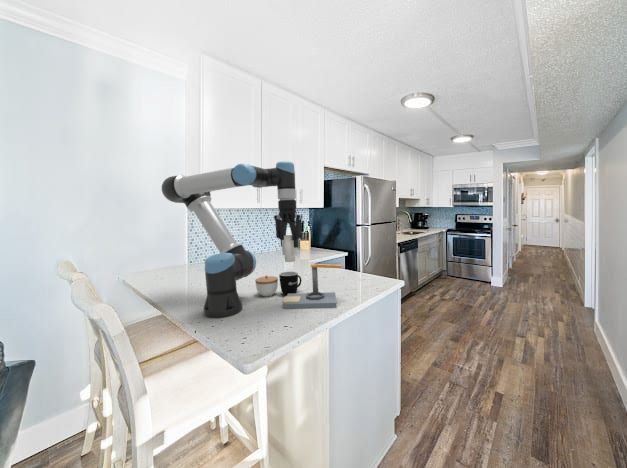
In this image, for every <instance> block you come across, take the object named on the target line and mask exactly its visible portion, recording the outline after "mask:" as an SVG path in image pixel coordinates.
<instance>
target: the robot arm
mask: <svg viewBox="0 0 627 468" xmlns="http://www.w3.org/2000/svg"><path fill="white" fill-rule="evenodd" d="M247 186H251V187H253V188H259V189H262V188H268V187H277V199H278V201H277V203H278V204H277V205H278V211H279V212H278V214H276V215H274V216H273V218H274V221H275V234H276V235H275V236H276V237H275V238H276V239H280V240H279V241H280V246H281V250H282V251H281V252H282V256H285V252H284V235H287V230H288V229H287V228H288V225H289V228H290V229H289V230H290V233H291V235H292V238H293V239H292V240H291V246H292V256H295V257H296V256H298V248H299V239H302V238H303V234H302V233H303V230H302V228H303V227H302V225H303V224H302V221H303V214H299V213H298V212H297V200H296V198H297V194H296V192H297V191H296V171H295V163H293V162H291V161H286V160H284V161H278V162H276V164H275V167H273V168H262V167H258V166H254V165H251V164H249V163H237V165H235V166H234V167H230V168H224V169H219V170H214V171H207V172H203V173H198V174H192V175H187V176H186V175H184V174H179V175H174V176H169V177H166V178H165V179H164V180H163V182H162V185H161V192H162V195H163V196H164V198H165V199H166V200H168V201H170V202H172V203H175V204H177V203H178V204H184V205H185V207H186V208H187V210H189V212H190V211H191V212H193V213H194V214H195V216H196V218H197V219H198V221H199V223H201V225H202V226H203V228H204V230H205V232H206V234H208V236H209V238H210V240H211V241H212V242H213V245H214V246H215V247H216V249H217V251H218V252H219V253H217V254H212V255H211V256H209V257H207V258H206V259H205V260H204V274H205V284H206V299H205V301H204V306H203V315H204V316H205V317H207V318H211V319H212V318H214V319H216V318H218V319H219V318H226V317H230V316H234V315H236V314H238V313H240V312H241V311H242V310H243V304H242V300H241V298H240V295H239V293H238V291H237V290H238V289H237V281H239V280H241V279H243V278H247V277H248V276H249V275H251V274H253V273H254V271H255V270H256V267H257V259H256V256H255V254H254V253H253V252H252V251H251V250H246V249H245V248H244V246H243V244H240V243H238V242H237V241H236V240H235V238H234V237H233V235H232V234H231V232H230V231H229V229H228V228H227V225H226V224H225V223H224V221H223V220H222V218H221V217H220V215H219V213H218V212H217V210H216V209H215V207H214V206H213V204H212V203H211V201H212V197H211V195H212V193H211V192H215V191H221V190H226V189H232V188H237V187H238V188H239V187H247Z"/></svg>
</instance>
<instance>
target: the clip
mask: <svg viewBox="0 0 627 468" xmlns="http://www.w3.org/2000/svg"><path fill="white" fill-rule="evenodd" d="M310 267H311V269H312V268H316V267H317V268H320V269H321V268H322V269H323V268H324V269H325V268H326V269H342V268H343V266H342V264H329V263H311V264H310Z"/></svg>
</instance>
